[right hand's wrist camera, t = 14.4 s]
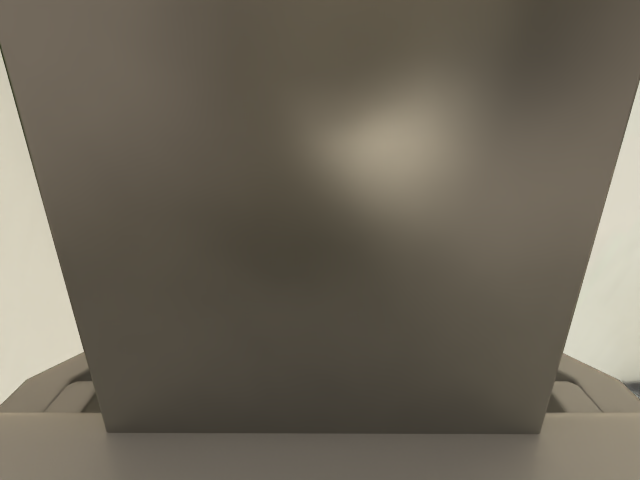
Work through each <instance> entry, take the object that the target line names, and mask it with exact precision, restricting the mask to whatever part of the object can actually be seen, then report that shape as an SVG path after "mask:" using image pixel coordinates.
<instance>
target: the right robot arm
mask: <svg viewBox="0 0 640 480" xmlns="http://www.w3.org/2000/svg"><path fill="white" fill-rule="evenodd" d="M0 480H640V399H638V398H637V397H636V396H635V395H634V394H633V393H632V392H631V391H630V390H629V389H628V388H627V387H626V386H625V385H624V384H623V383H622V382H621V381H620V380H618V379H616V378H614V377H612V376H610V375H608V374H605V373H603V372H601V371H599V370H597V369H595V368H593V367H591V366H589V365H587V364H585V363H582V362H580V361H578V360H576V359H574V358H572V357H570V356H568V355H566V354H564V353H563V354H562V357H561V361H560V364H559V368H558V371H557V375H556V378H555V382H554V386H553V389H552V393H551V396H550V400H549V403H548V407H547V410H546V414H545V417H544V421H543V424H542V428H541V432H540V434H308V433H108V432H106V429H105V425H104V421H103V418H102V414H101V411H100V407H99V403H98V400H97V396H96V393H95V389H94V385H93V382H92V378H91V375H90V371H89V367H88V364H87V360H86V356H85V353H84V352H83V353H81V354H79V355H77V356H75V357H73V358H70V359H68V360H66V361H64V362H62V363H60V364H58V365H56V366H54V367H52V368H50V369H48V370H46V371H44V372H42V373H39V374H37V375H35V376H33V377H31V378H29V379H27V380H26V381H25V382H24V383H23V384H22V385H21V386H20V387H19V388H18V389H17V390H16V391H14V392H13V393H12V394H11V395H10V396H9V397H8V398H7V399H6V400H5V401H4V402H3V403H2V404H1V405H0Z"/></svg>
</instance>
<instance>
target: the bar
mask: <svg viewBox="0 0 640 480" xmlns="http://www.w3.org/2000/svg"><path fill="white" fill-rule="evenodd" d="M0 50H1V53H2V57H3V60H4V64H5V68H6V71H7V75H8V79H9V82H10V86H11V89H12V93H13V97H14V100H15V104H16V107H17V111H18V115H19V118H20V122H21V125H22V129H23V133H24V136H25V140H26V143H27V147H28V151H29V154H30V158H31V162H32V165H33V169H34V172H35V176H36V180H37V183H38V187H39V190H40V194H41V198H42V201H43V205H44V208H45V212H46V216H47V219H48V223H49V227H50V230H51V234H52V237H53V241H54V245H55V248H56V252H57V255H58V259H59V263H60V266H61V270H62V273H63V277H64V281H65V284H66V288H67V291H68V295H69V299H70V302H71V306H72V310H73V313H74V317H75V320H76V324H77V328H78V331H79V335H80V338H81V342H82V346H83V349H84V353H85V356H86V360H87V364H88V367H89V371H90V375H91V378H92V382H93V385H94V389H95V393H96V396H97V400H98V403H99V407H100V411H101V414H102V418H103V421H104V425H105V429H106V432H108V433H308V434H540V432H541V428H542V424H543V421H544V417H545V414H546V410H547V407H548V403H549V400H550V396H551V393H552V389H553V386H554V382H555V378H556V375H557V371H558V368H559V364H560V361H561V357H562V354H563V350H564V347H565V343H566V339H567V336H568V332H569V329H570V325H571V322H572V318H573V315H574V311H575V308H576V304H577V301H578V297H579V293H580V290H581V286H582V283H583V279H584V276H585V272H586V269H587V265H588V262H589V258H590V254H591V251H592V247H593V244H594V240H595V237H596V233H597V230H598V226H599V223H600V219H601V216H602V212H603V208H604V205H605V201H606V198H607V194H608V191H609V187H610V184H611V180H612V177H613V173H614V170H615V166H616V162H617V159H618V155H619V152H620V148H621V145H622V141H623V138H624V134H625V131H626V127H627V123H628V120H629V116H630V113H631V109H632V106H633V102H634V99H635V95H636V92H637V88H638V85H639V81H640V0H0Z"/></svg>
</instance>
